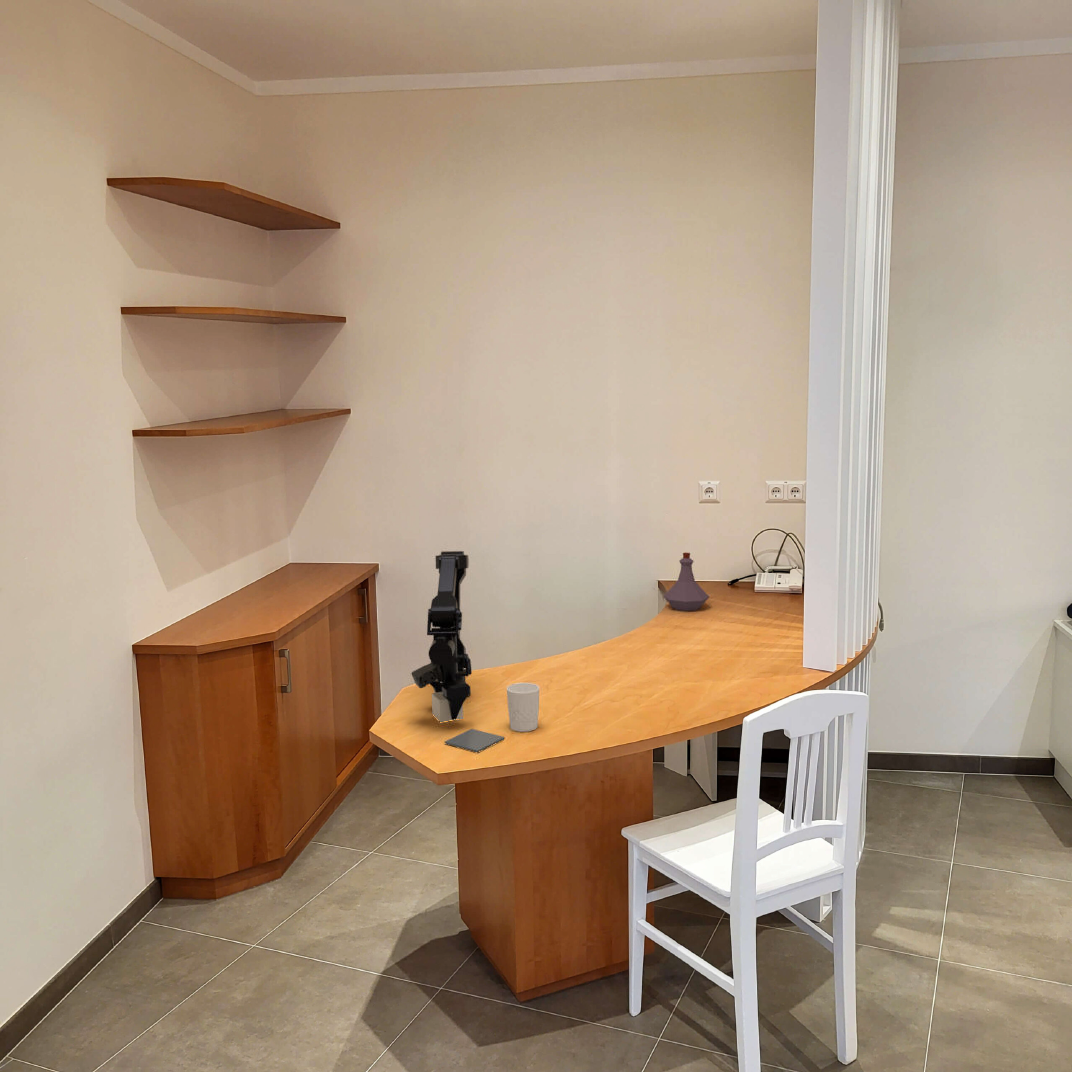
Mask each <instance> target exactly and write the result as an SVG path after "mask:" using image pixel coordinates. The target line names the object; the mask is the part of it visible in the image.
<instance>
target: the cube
mask: <svg viewBox="0 0 1072 1072" xmlns="http://www.w3.org/2000/svg"><path fill="white" fill-rule="evenodd" d="M442 695H443V692H437V693H435V692H433V693H431V707H432V716H433V715H434V716H435V717H436V718H437V719H438V720H439V721H440V722H444V721H449V720H452V719H451V714H450V709H449V704H448V700H447V699H446V698H445V697H443V696H442ZM463 705H464V704H463ZM463 705H462V707H461V709H460V711H459V714H458V716H457V718H456V719H463V720H464V706H463ZM456 719H455V720H456Z"/></svg>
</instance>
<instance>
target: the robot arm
mask: <svg viewBox="0 0 1072 1072" xmlns="http://www.w3.org/2000/svg"><path fill="white" fill-rule="evenodd" d="M469 560H470V559H469V554H465V551H464V550H462V551H461V550H452V551H451V550H450V551H448V550H447V551H446V550H445V551H441V552H440V554H439V555H435V569H437V570H438V574H439V577H438V584H437V585H438V586H437V593H436V594H437V595H435V596H434V597H433V598H432V600H431V603H430V608H428V609H427V626H426V636H432V637H433V639H432V643H431V645H430V647H429V650H428V658H429V660H430V662H429V663H428V664H425V665H422V666H421V667H419V668H417V669H415V670H413V671H412V672H411V673H410V674H411V677H412V679H413V681H414V683H415V685H416V686H417V687H418V688H419V689H423V688H426V687H427V686H428V685H430V686H431V687H432V688H433V691H434V692H433V693H437V692H443V695H442V696H443V697H445V698H446V699H447V700H448V704H449V709H450V714H451V719H452V720H454V719H456V718H457V716H458V714H459V711H460V709H461V707H462V705H464V703H465V701H466V699H467V698H468V697H469V696H468V695H470V696H471V685H470V684H468V682H466V677H469V676H471V675H472V664H471V663H472V661H471V658H470V657H469V654H468V653H467V650H466V649H467V648H466V646H465V645H464V643H463V641H462V640H461V631H462V625H463V624H462V623H463V612H462V611H461V584H462V583H463V581H464V579H465V577H466V576H467V569H469Z"/></svg>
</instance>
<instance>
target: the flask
mask: <svg viewBox="0 0 1072 1072" xmlns="http://www.w3.org/2000/svg"><path fill="white" fill-rule="evenodd" d="M690 557H691V552H683V553H682V558H681V559H680V560H679V563H680V572H679V575H678V578H677V580H676V581H675V582H674V584H673V585H672V586H671V587H670V588H669V589H668V591H666V593H664V594H663V596H662V597H663V598H664V600H666V601H667V602H668V604H669V605H670V606H671V608H672V609H674V610H676V611H680V612H693V611H697V610H699V609H701V607H702V606H703V605H704V604H705V603H706V601H707V600H708V599H710V596H709V594H708V593H707V592H705V590H704V589H703V588H701V586H700V585H699V584H698V582H697V581H696V578H695V576H694V573H693V567H692V565H693V563H694V560H693V559H692V558H690Z"/></svg>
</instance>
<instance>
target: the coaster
mask: <svg viewBox="0 0 1072 1072" xmlns="http://www.w3.org/2000/svg"><path fill="white" fill-rule="evenodd" d="M504 739H506V738H505V736H502V735H499V734H494V733H490V732H487V731H482V730H479V729H478V730H477V729H474V728H470V729H468V730H466V731H464V732H462V733H460V734H457V735H455V736H454V737H451V738H449V739H447V740H444V743H446V744H449V745H453V746H456V747H455V748H457V747H459V748H458V749H460V748H464V749H467V750H466V751H468V750H471V751H470V752H472V751H474V752H473V753H475V752H477V753H476V754H479V753H480V752H479V751H481V750H483V751H485V750H487V749H488V748H487V747H489V746H491V745H493V744H495V743H497V744H499V743H500V742H499V741H501V740H503V741H504ZM498 742H499V743H498ZM501 742H502V741H501ZM444 743H443V744H444ZM446 744H445V745H446ZM449 745H448V746H449ZM495 745H496V744H495ZM453 746H452V747H453ZM493 746H494V745H493ZM491 747H492V746H491ZM486 748H487V749H486ZM489 748H490V747H489ZM464 749H463V750H464ZM484 749H485V750H484ZM478 752H479V753H478ZM481 752H482V751H481Z"/></svg>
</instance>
